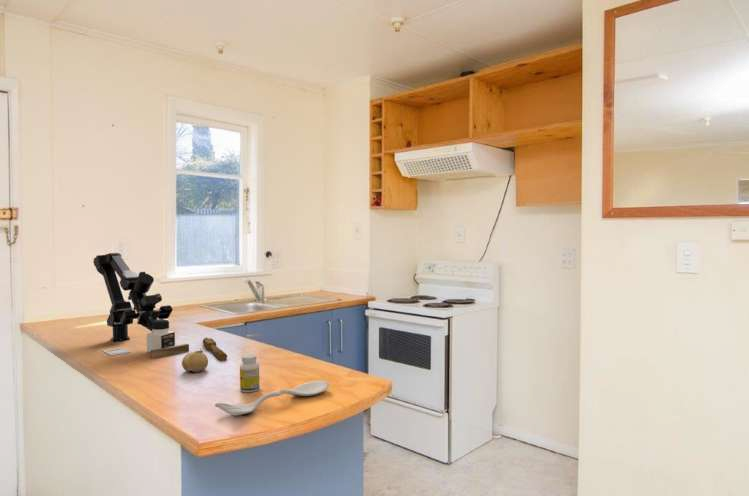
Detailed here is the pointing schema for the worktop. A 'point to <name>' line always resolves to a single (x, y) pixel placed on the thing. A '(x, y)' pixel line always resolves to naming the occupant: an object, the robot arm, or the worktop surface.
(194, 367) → the onion
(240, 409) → the spoon
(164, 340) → the medicine bottle
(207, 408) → the worktop surface
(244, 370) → the supplement bottle
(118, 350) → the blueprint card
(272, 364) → the worktop surface
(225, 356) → the tap handle
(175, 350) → the stop bar
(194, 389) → the worktop surface
